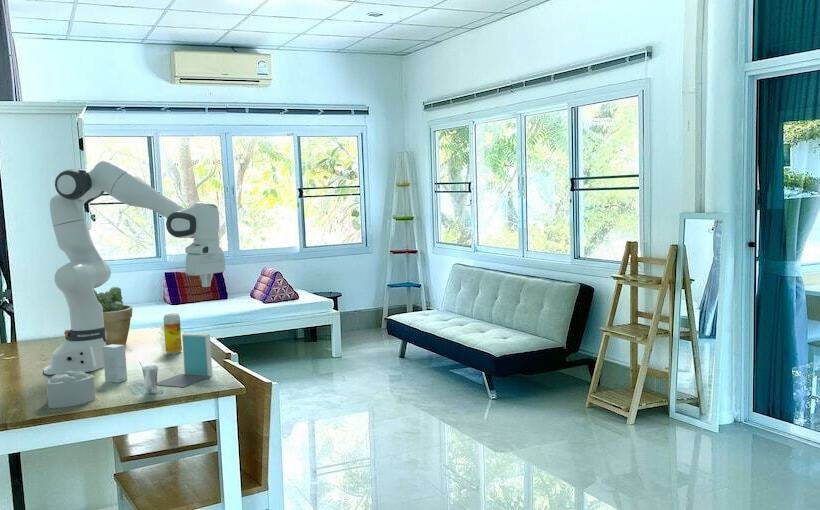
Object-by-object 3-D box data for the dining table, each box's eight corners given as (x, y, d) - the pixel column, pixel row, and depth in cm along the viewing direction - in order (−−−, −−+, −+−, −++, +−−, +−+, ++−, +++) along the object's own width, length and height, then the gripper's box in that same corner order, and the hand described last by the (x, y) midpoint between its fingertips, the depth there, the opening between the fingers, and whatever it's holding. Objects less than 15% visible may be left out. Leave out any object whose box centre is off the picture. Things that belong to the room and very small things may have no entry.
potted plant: (118, 339, 322) (114, 282, 320) (144, 343, 311) (140, 284, 309) (78, 347, 307) (74, 287, 305) (104, 352, 296) (99, 290, 294)
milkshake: (143, 391, 235) (141, 360, 234) (160, 390, 235) (158, 359, 234) (139, 395, 230) (137, 363, 229) (157, 394, 231) (155, 362, 230)
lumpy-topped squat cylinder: (48, 400, 228) (46, 373, 227) (94, 394, 233) (92, 367, 233) (48, 409, 218) (46, 380, 218) (96, 402, 224) (94, 374, 223)
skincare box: (127, 379, 250) (125, 344, 249) (118, 383, 246) (115, 347, 245) (114, 378, 253) (111, 343, 251) (104, 381, 249) (101, 346, 248)
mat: (181, 374, 255) (181, 373, 255) (210, 376, 250) (210, 375, 250) (152, 385, 242) (152, 384, 242) (182, 387, 237) (182, 386, 237)
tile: (188, 373, 257) (185, 333, 255) (212, 374, 253) (209, 334, 252) (184, 374, 255) (181, 334, 253) (208, 376, 251) (205, 335, 250)
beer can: (177, 354, 287) (174, 316, 286) (162, 354, 289) (160, 316, 287) (184, 350, 293) (182, 313, 292) (170, 350, 294) (168, 313, 293)
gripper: (214, 246, 275) (214, 283, 275) (182, 248, 255) (182, 288, 256) (229, 247, 273) (229, 284, 274) (198, 249, 253) (198, 289, 254)
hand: (206, 286), depth 265 cm, fingers closed
